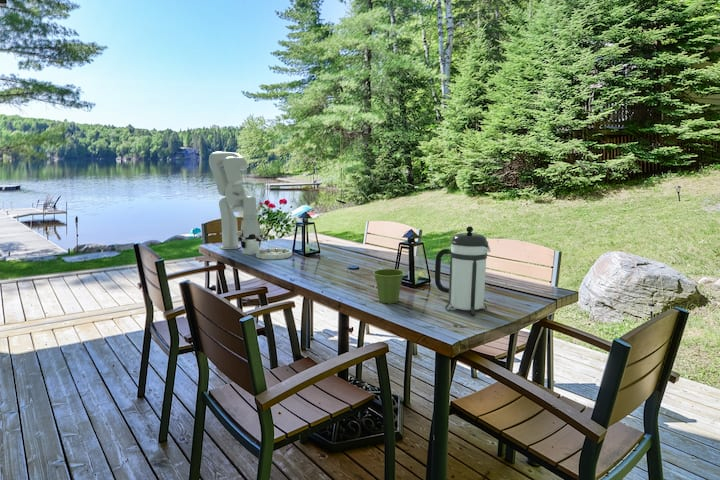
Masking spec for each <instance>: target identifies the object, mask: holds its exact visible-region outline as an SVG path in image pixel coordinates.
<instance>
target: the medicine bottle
mask: <svg viewBox="0 0 720 480" xmlns="http://www.w3.org/2000/svg"><path fill="white" fill-rule="evenodd" d="M244 241H245V248H242V247H241V250H242V251H241V252H242V254H243V255H249V256H254V255H256V251H258V250H260V247H259V241H257V237H255V234H251V235H249V237H248V238H245V240H244Z"/></svg>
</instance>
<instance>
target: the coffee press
mask: <svg viewBox="0 0 720 480" xmlns="http://www.w3.org/2000/svg"><path fill="white" fill-rule="evenodd" d="M465 229H466V232H460V233H456V234H455V235H453V236H452V238H451V239H449V240H450V242H449V243H450V246H451V247H450V249H449V248H445V249H441V250H440V251H439V252H437V254H436V256H435V266H434V282H435V283H434V284H435V286H436V288H437V289H438V290H439V291H441V292H443V293H445V294H448V302H447V304H446V305H445V307H444V308H445V310H446V311H447V312H450V311H451V310H452V309H457V310H460V311H461V310H462V311H469V314H470V315H469V316H470V317H475V316H476V311H477V310H480V309H482V310H483V311H486V310H487V305H486V304H485V287H486V268H487V267H486V266H487V259H488V253H491V248H490V245H489V241H487V238H486V236H484V235H482V234H480V233H475V232H473V231H474V228H473V226H470V225H469V226H467V227H466V228H465ZM444 255H449V256H450V263H449V281H448V282H449V285H448V286H449V287H445V286H444V285H442V283H441V267H442V266H441V265H442V258H443V256H444ZM449 306H450V307H449ZM448 307H449V308H448Z"/></svg>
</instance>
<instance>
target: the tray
mask: <svg viewBox="0 0 720 480" xmlns="http://www.w3.org/2000/svg"><path fill="white" fill-rule="evenodd" d="M292 256H293V255H292V250H291V249H289V248H279V247H273V248H272V247H271V248H263V249H259V250H258V251H256V254H255V257H256V258H257V259H260V258H261V259H260V260H282V259H287V258H290V257H292Z"/></svg>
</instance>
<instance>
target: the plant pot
mask: <svg viewBox="0 0 720 480" xmlns="http://www.w3.org/2000/svg"><path fill="white" fill-rule="evenodd" d="M372 274H373V275H374V278H375V283H376V288H377V294H378V299H379V300H378V301H379V302H380V303H383V304H385V303H387V304H395V303H398V301H399V299H400V292H401V286H402V281H403V277H404V275H405V274H406V273H405V271H404V270H402V269H395V268H379V269H375V270H373V272H372Z"/></svg>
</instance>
